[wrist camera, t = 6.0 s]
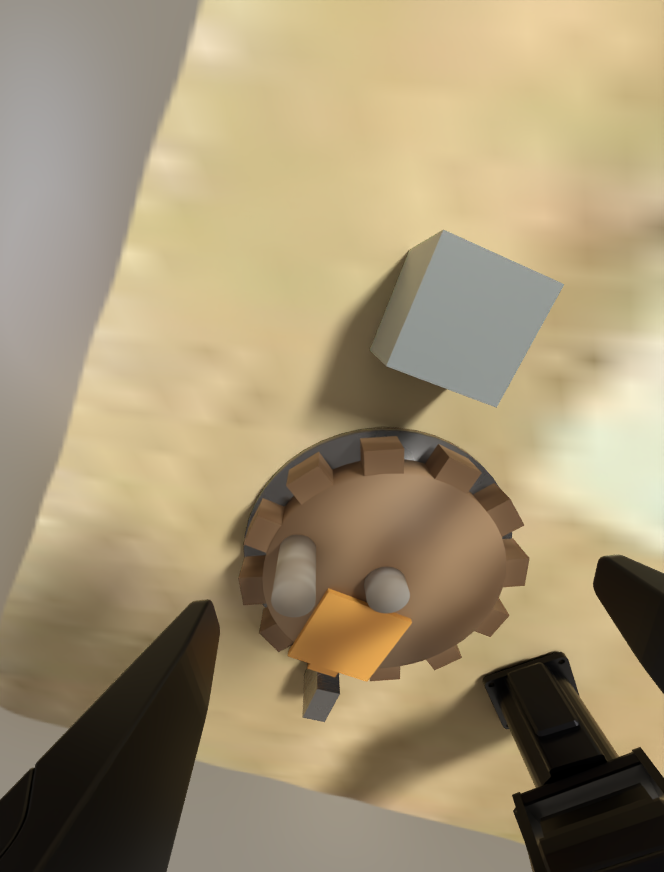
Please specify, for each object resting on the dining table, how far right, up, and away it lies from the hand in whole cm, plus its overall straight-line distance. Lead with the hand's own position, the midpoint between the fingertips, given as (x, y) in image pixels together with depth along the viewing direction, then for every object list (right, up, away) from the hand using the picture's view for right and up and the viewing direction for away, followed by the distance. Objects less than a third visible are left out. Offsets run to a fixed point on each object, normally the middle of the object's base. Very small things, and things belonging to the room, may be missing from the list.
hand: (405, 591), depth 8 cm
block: (+3, +10, +10) cm, 14 cm away
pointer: (-3, -14, +18) cm, 23 cm away
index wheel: (+1, -4, +15) cm, 15 cm away
